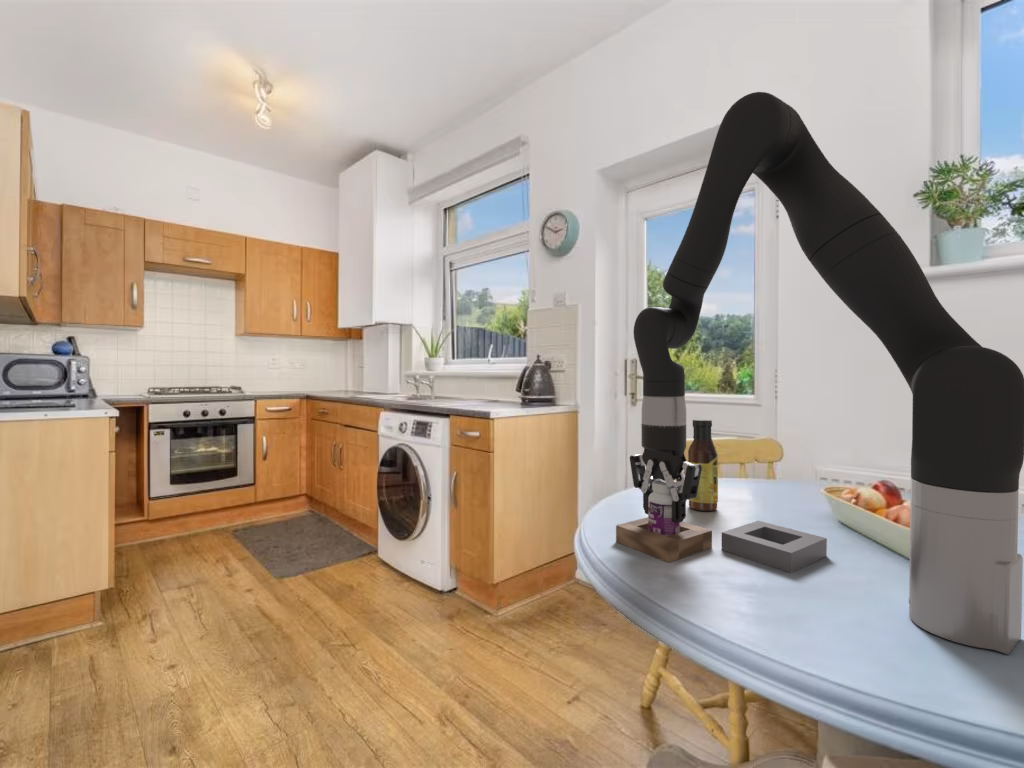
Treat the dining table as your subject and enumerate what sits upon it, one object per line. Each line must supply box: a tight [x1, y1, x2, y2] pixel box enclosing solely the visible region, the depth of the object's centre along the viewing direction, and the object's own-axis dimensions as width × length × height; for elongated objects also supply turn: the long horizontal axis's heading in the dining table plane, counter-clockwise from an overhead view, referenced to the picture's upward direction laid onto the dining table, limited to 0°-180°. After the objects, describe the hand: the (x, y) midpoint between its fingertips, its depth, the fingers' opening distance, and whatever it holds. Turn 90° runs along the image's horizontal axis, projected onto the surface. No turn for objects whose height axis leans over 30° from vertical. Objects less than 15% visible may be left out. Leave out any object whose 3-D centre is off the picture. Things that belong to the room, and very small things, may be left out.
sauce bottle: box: [687, 418, 719, 512], centre depth 108 cm, size 6×6×20 cm
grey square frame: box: [721, 520, 828, 573], centre depth 81 cm, size 12×12×3 cm
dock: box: [615, 517, 713, 563], centre depth 85 cm, size 12×12×3 cm
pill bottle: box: [647, 479, 680, 536], centre depth 85 cm, size 5×5×10 cm
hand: (663, 517), depth 85 cm, fingers closed on pill bottle, 5 cm apart
